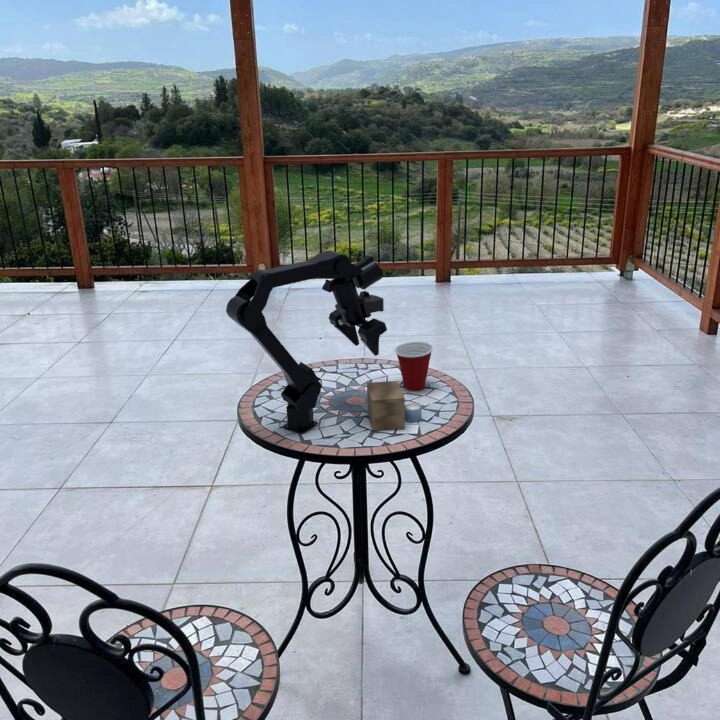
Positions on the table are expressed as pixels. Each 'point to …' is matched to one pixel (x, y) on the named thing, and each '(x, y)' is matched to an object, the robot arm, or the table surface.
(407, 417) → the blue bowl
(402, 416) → the brown box
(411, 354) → the plastic cup
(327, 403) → the table surface
